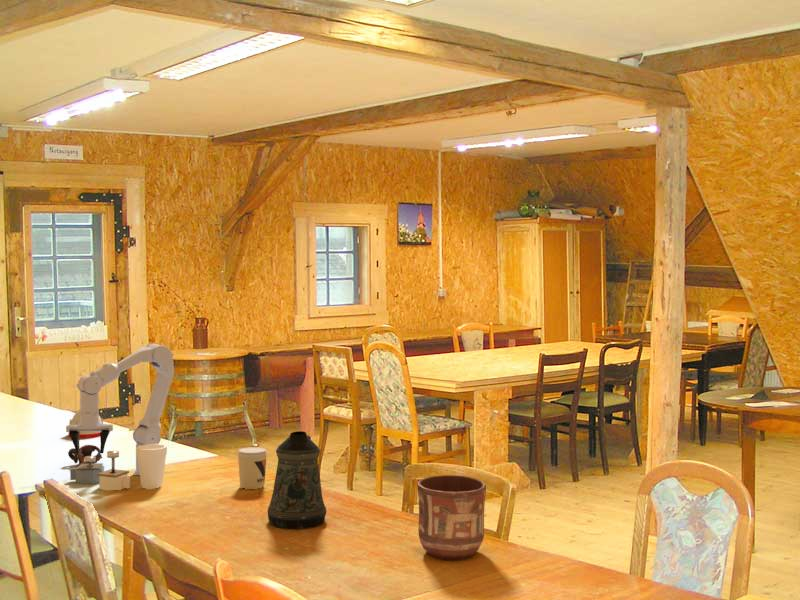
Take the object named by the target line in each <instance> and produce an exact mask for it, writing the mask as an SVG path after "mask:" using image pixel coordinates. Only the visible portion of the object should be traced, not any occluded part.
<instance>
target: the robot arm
mask: <svg viewBox="0 0 800 600" xmlns="http://www.w3.org/2000/svg"><path fill="white" fill-rule="evenodd" d="M173 357H174V353H173V351H172V350H171V349H170V348H169V347H168V346H167V345H164V344H156V343H154V342H152V343H148V344H147V345H144V346H142V347H140V348H138V349H137V350H136V351H134V352H133V353H131V354H129V355H127V356H126V357H124V358H122V359H121V360H120V361H117V362H116V363H111V362H109V363H103V364H102V367H99V368H98V369H96V370H95V371H94V370H92V371H90V372H89V373H90V374H85V375H82V376H81V377H80V378H79V380H78V383H77V384H76V387H77V389H78V390H79V395H80V397H79V402H80V403H79V407H80V408H79V409H80V423H81V424H79V425H69V424H67V425H65V426H66V427H65V431H66V433H68V437H69V436H70V437H69V438H70V439H71V442H72V443H73V445H74V448H75V450H76V454H79V453H80V448H81V447H80V438H79V433H80V431H102V432H100V437H99V438H100V447H99V449H100V454H104V452H105V451H104V450H105V446H106V442H107V439H108V437H109V435H110V432H112V431H114V424H113V423H112V424H110V423H108V424H107V423H106V424H105V423H103V424H99V416H100V413H99V392H100V391H101V389H102V388H103V387H105V386H107V385H109V384H111V383H112V382H114V381H115V380H117V379H119V378H120V375H121V373H122V372H124V371H126V370H128V369H131V368H132V367H134V366H136V365H138V364H140V363H150V364H151V365H152V367H153V368H154V370H155V371H156V376H155V380H154V384H153V386H152V390H151V393H150V396H149V399H148V403H147V406H146V409H145V412H144V415H143V417H142V418H141V419H140V420H139V422H138V425H137V426H136V428H134V430H133V433H132V437H133V438H132V439H133V441H134V442H135V444H136V445H135V448H136V447H138V446H140V445H146V444H160V443H161V439H162V438H161V431H162V424H161V421H160V420H161V417H162V414H163V411H164V408H165V405H166V402H167V398H168V393H169V391H170V388H171V385H172V381H173V378H174V374H175V366H174V362H173V361H174V360H173ZM69 432H70V434H69ZM165 467H166V466H165ZM165 467H164V471H165V470H166V469H165ZM132 474H133V476H140V473H139V465H138V458H137V455H136V454H135V470H134V472H133V473H132Z"/></svg>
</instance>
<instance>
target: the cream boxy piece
mask: <svg viewBox="0 0 800 600" xmlns="http://www.w3.org/2000/svg"><path fill="white" fill-rule="evenodd" d="M129 473H130V470H124V469H123V470H122V469H116V468H115V473H112V468H110V469H108V470H104V472H100V473H97V475H98V476H99V483H98V489H99V488H100V489H102V490H101V491H103V490H119V491H122V490H121V489H123V490H125V489H124V488H126V489H130V488H131V476H130V475H128V474H129ZM100 489H99V490H100Z"/></svg>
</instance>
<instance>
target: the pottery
mask: <svg viewBox="0 0 800 600" xmlns="http://www.w3.org/2000/svg"><path fill="white" fill-rule="evenodd" d="M416 486H417V488H416V489H417V495H418V496H417V497H418V526H417V527H418V529H417V530H418V538H419V541H420V544H421V545H422V548H423V550H424V551H426V552H427V553H428V555H430V556H431V557H433V558H436V559H440V560H447V561H458V560H459V559H461V560H464V559H469V558H471V557H473V555H474V554H476V553H477V551H479V549H480V547H481V546H482V543H483V541H484V538H485V502H486V501H485V500H486V493H487V485H486V483H485V482H484V481H482V480H480V479H478V478H475V477H471V476H465V475H457V474H456V475H453V474H450V475H449V474H443V475H432V476H426V477H424V478H422V479H419V480H418V481H417V485H416Z"/></svg>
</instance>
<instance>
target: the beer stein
mask: <svg viewBox="0 0 800 600" xmlns="http://www.w3.org/2000/svg"><path fill="white" fill-rule="evenodd" d="M275 452H276V456H277V465H276V472H275V477H274V484H273V490H272V494H271V495H272V496H271V499H270V502H269V505H268V507H267V519H268V522H269V525H270V526H272V527H275V528H277V529H284V530H296V531H297V530H308V529H313V528H317V527H319V526H323V525H324V522H325V521H326V515H327V507H326V505H325V501H324V499H323V498H324V497H323V492H322V483H321V474H320V467H319V462H318V461H319V460H318V459H319V457H320V454H321V449H320V448H319V446H318V445H317V444H316V443H314V441H312V440H311V436H309V435H308V434H307V432H306V431H303V430H302V431H292V432H290V433H289V437H288V438H286V439H285V440H284V441H282V443H281V444H280V445H278V446H277V448H276V451H275Z"/></svg>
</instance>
